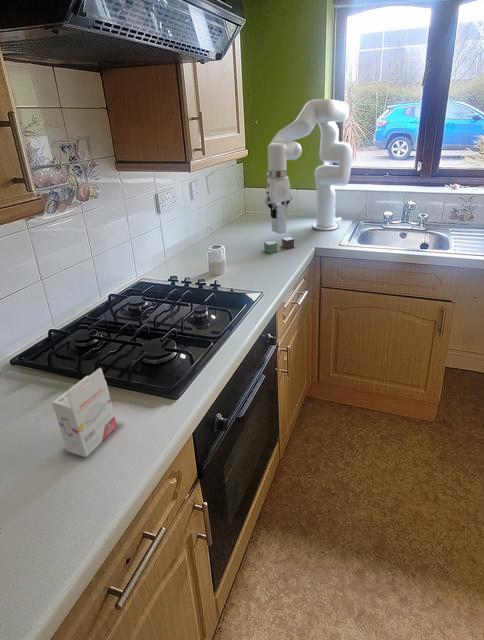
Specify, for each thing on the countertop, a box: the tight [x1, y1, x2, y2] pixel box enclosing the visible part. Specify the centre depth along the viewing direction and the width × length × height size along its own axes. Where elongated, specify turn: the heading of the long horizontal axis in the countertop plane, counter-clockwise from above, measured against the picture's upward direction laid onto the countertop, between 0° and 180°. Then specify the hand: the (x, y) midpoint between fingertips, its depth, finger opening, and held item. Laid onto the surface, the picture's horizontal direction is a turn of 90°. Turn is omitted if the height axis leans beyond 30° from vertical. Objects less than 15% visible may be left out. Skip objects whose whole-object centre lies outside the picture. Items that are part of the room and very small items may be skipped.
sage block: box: [263, 240, 278, 255], centre depth 178 cm, size 4×4×4 cm
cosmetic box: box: [270, 202, 287, 235], centre depth 176 cm, size 6×4×12 cm
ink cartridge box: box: [51, 367, 118, 458], centre depth 77 cm, size 9×5×15 cm, turn 158°
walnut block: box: [281, 236, 295, 250], centre depth 183 cm, size 4×4×4 cm
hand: (278, 216), depth 176 cm, fingers closed on cosmetic box, 4 cm apart
